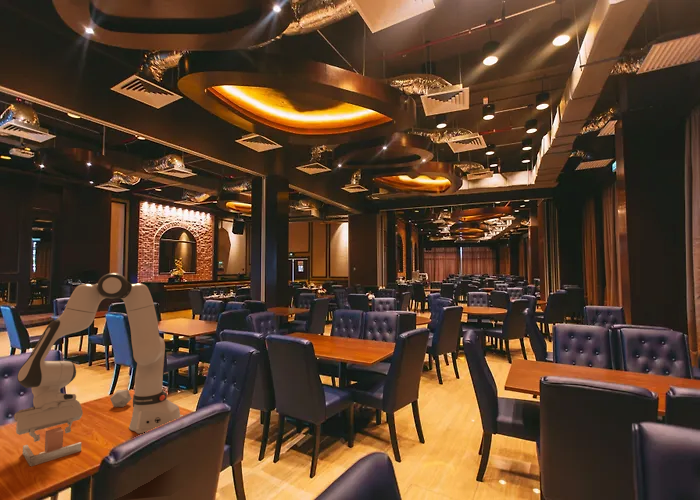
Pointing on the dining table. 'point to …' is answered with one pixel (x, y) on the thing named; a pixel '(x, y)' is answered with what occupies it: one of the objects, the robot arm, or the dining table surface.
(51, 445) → the block
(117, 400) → the grey faceted polyhedron
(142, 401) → the robot arm
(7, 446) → the dining table surface
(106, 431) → the dining table surface
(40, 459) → the corner wall
